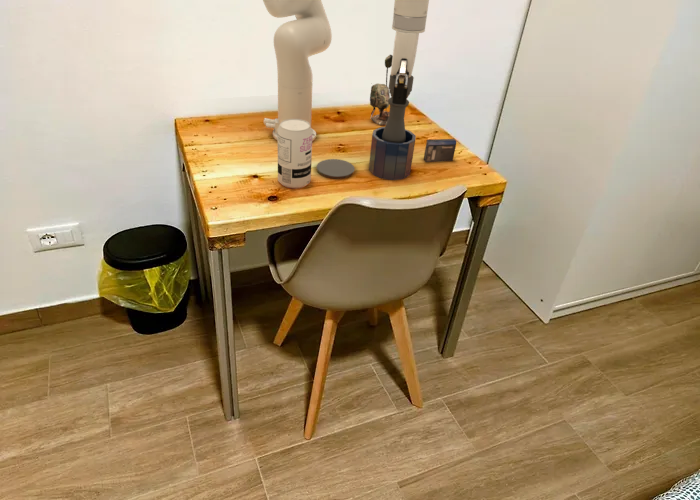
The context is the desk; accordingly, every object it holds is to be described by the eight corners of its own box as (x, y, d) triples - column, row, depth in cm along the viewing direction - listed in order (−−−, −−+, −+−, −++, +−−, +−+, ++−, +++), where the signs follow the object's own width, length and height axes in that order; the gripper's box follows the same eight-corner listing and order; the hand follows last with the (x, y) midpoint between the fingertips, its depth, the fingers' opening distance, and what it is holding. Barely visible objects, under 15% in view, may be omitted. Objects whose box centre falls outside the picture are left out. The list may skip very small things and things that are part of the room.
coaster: (313, 176, 134) (313, 173, 134) (320, 159, 142) (320, 156, 142) (351, 181, 134) (352, 178, 133) (356, 164, 142) (356, 161, 141)
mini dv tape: (425, 162, 146) (428, 142, 143) (423, 159, 147) (426, 139, 144) (452, 161, 148) (456, 141, 144) (450, 158, 149) (454, 138, 146)
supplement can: (280, 172, 134) (279, 116, 126) (312, 175, 135) (314, 119, 126) (275, 188, 128) (274, 130, 119) (309, 190, 128) (311, 133, 119)
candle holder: (394, 178, 137) (407, 82, 122) (373, 170, 139) (384, 76, 125) (405, 169, 141) (419, 76, 127) (385, 162, 144) (396, 70, 129)
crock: (366, 177, 136) (370, 141, 130) (371, 158, 145) (374, 124, 139) (409, 182, 135) (414, 146, 130) (410, 163, 144) (416, 129, 139)
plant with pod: (360, 119, 168) (365, 54, 157) (388, 114, 174) (396, 51, 162) (374, 128, 163) (381, 62, 151) (403, 123, 168) (412, 59, 157)
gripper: (395, 13, 126) (387, 84, 136) (389, 29, 112) (381, 107, 122) (426, 16, 126) (416, 87, 135) (425, 33, 111) (414, 111, 121)
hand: (400, 97), depth 129 cm, fingers open, 9 cm apart
